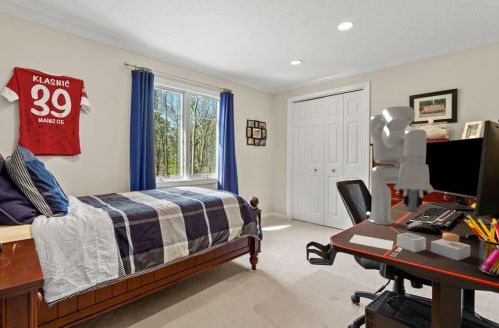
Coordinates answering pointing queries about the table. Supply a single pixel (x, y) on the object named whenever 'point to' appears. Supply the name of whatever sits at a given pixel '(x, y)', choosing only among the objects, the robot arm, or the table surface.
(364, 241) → the paper
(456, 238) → the button
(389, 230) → the table surface
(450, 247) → the button box
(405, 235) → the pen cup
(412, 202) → the marker
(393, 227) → the table surface
